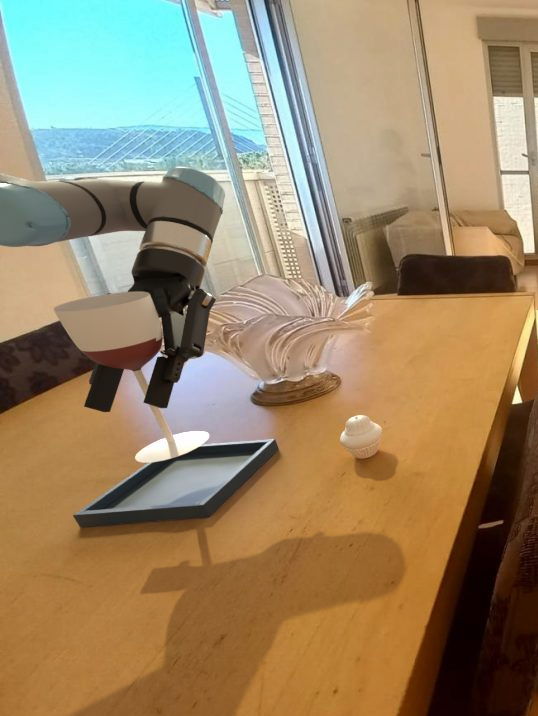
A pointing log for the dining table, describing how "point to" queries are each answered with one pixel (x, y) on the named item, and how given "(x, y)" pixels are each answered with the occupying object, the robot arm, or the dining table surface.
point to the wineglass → (126, 352)
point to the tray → (179, 485)
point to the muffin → (361, 437)
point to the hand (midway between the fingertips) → (126, 407)
